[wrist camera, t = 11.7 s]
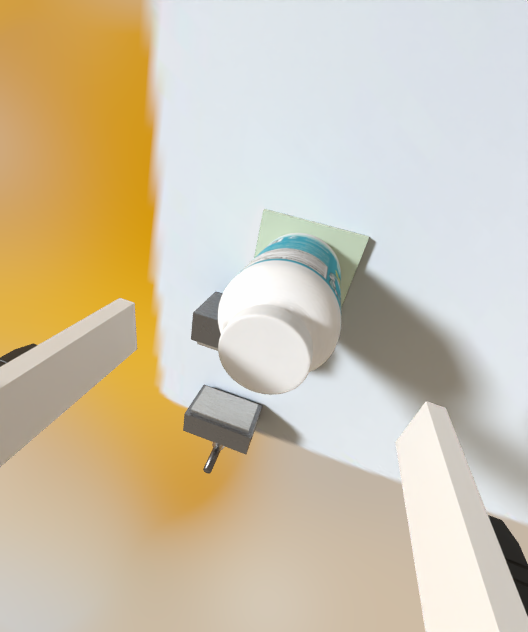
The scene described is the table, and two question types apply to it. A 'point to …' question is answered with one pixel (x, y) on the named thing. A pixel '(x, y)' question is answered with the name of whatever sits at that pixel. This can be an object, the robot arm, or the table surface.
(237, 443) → the vise
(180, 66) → the table surface
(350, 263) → the pad
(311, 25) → the table surface
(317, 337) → the pill bottle
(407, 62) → the table surface
